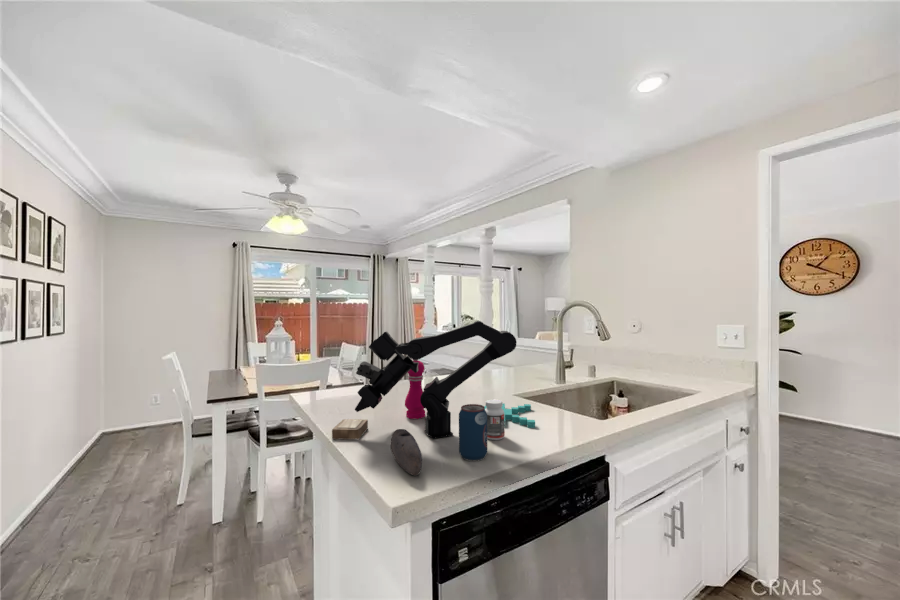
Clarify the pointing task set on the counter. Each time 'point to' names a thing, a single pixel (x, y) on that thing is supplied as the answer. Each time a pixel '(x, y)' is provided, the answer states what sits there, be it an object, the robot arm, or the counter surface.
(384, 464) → the counter surface
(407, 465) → the perforated stone tool
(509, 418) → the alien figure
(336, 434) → the walnut block
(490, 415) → the pill bottle
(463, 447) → the soda can
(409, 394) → the pepper mill
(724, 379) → the counter surface
